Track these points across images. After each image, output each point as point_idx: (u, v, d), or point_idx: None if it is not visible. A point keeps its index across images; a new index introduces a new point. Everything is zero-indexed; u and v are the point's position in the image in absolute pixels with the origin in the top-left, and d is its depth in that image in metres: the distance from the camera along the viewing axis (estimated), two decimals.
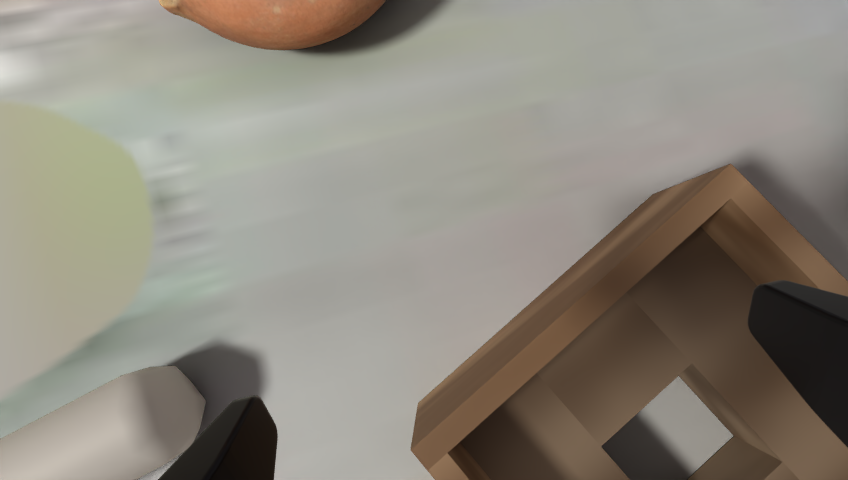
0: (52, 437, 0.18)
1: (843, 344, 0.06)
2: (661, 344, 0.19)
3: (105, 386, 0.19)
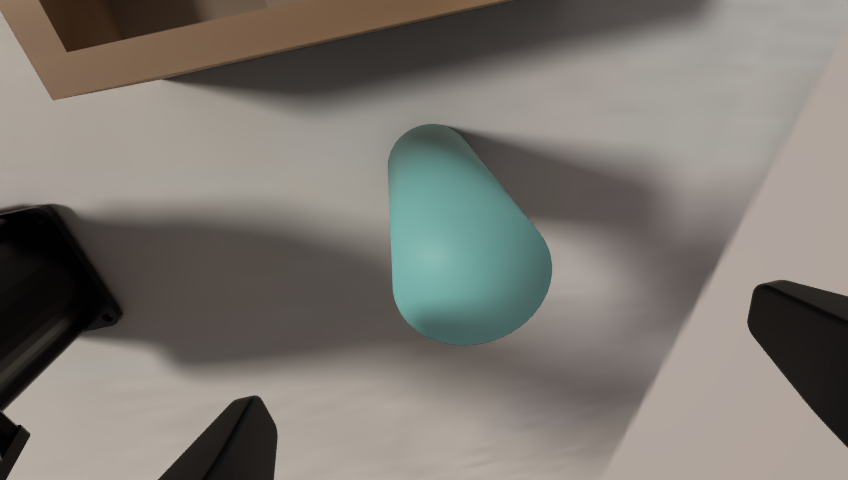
0: None
1: (843, 344, 0.06)
2: None
3: None
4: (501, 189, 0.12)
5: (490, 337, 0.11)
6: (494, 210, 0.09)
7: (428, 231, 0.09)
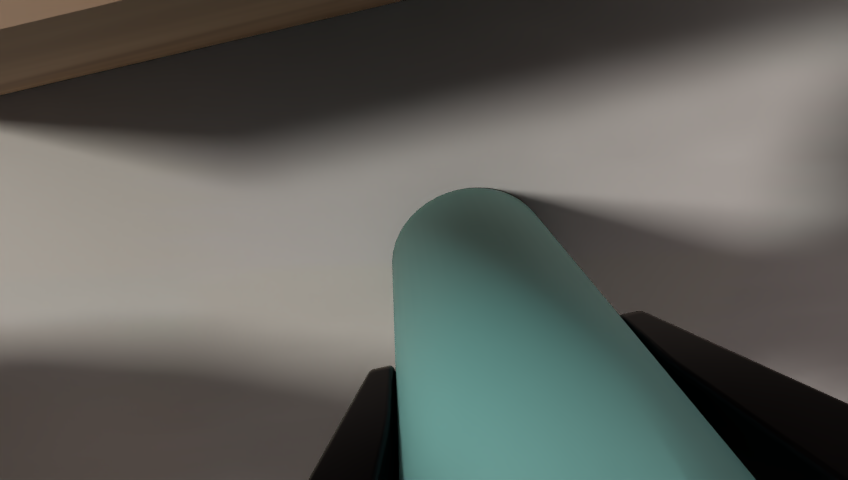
0: None
1: None
2: None
3: None
4: None
5: None
6: None
7: None
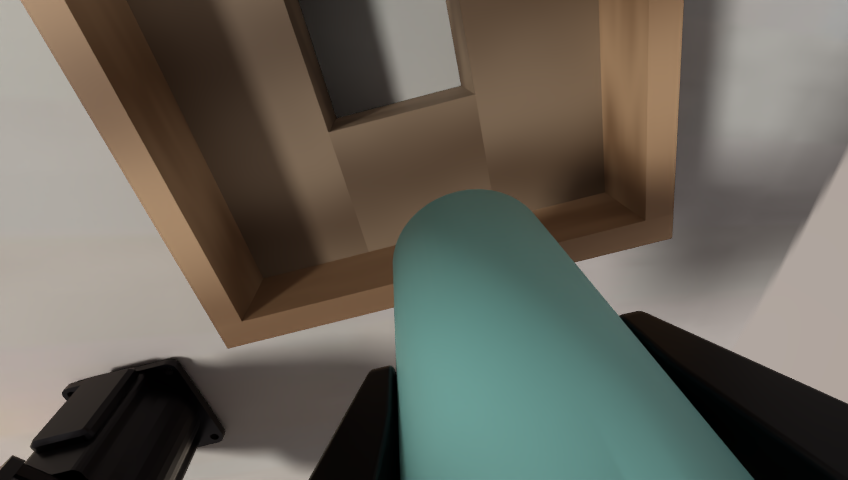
0: None
1: None
2: None
3: None
4: None
5: None
6: None
7: None
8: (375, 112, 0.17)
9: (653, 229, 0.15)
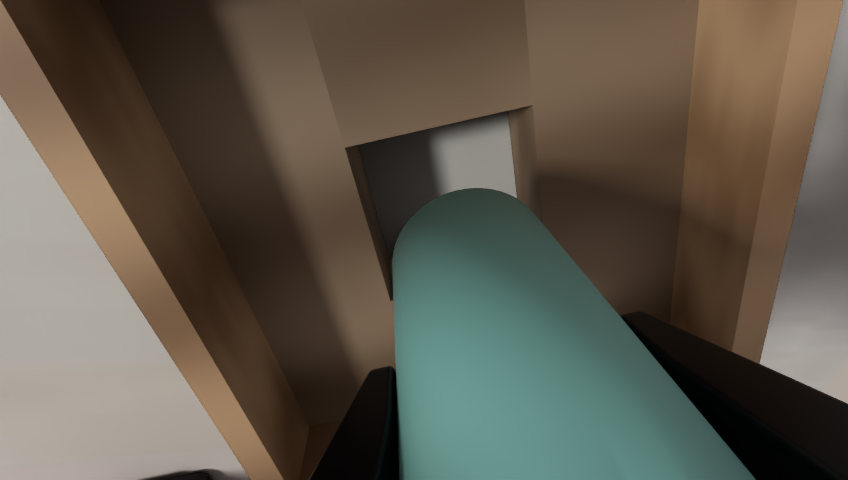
0: None
1: None
2: (512, 53, 0.11)
3: None
4: None
5: None
6: None
7: None
8: None
9: None
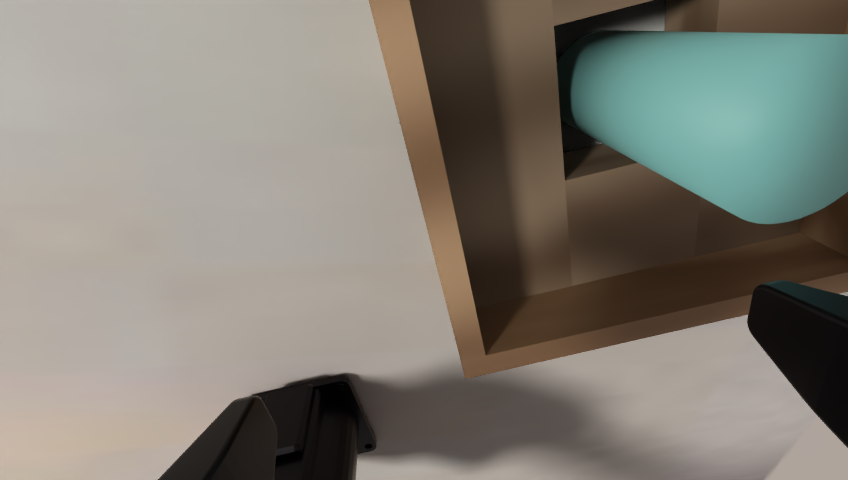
0: None
1: (843, 344, 0.06)
2: None
3: None
4: None
5: (799, 213, 0.10)
6: None
7: (782, 68, 0.08)
8: (589, 157, 0.18)
9: None
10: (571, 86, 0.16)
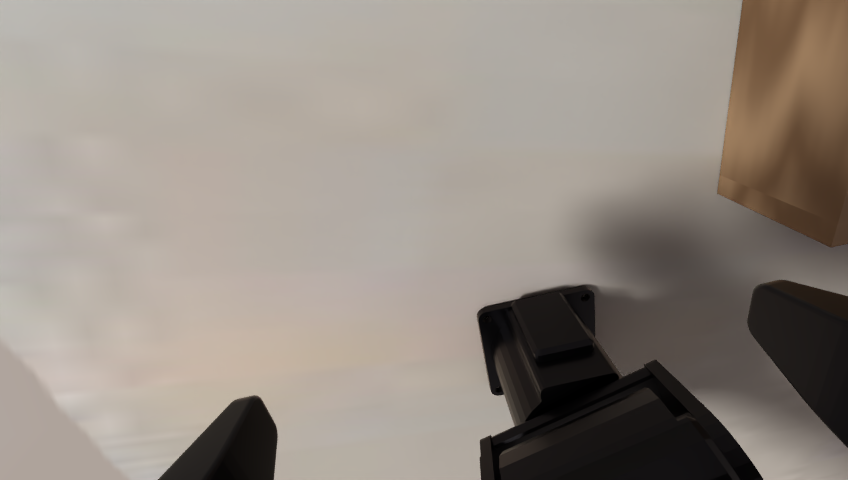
0: None
1: (843, 344, 0.06)
2: None
3: None
4: None
5: None
6: None
7: None
8: None
9: None
10: None
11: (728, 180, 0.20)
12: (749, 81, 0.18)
